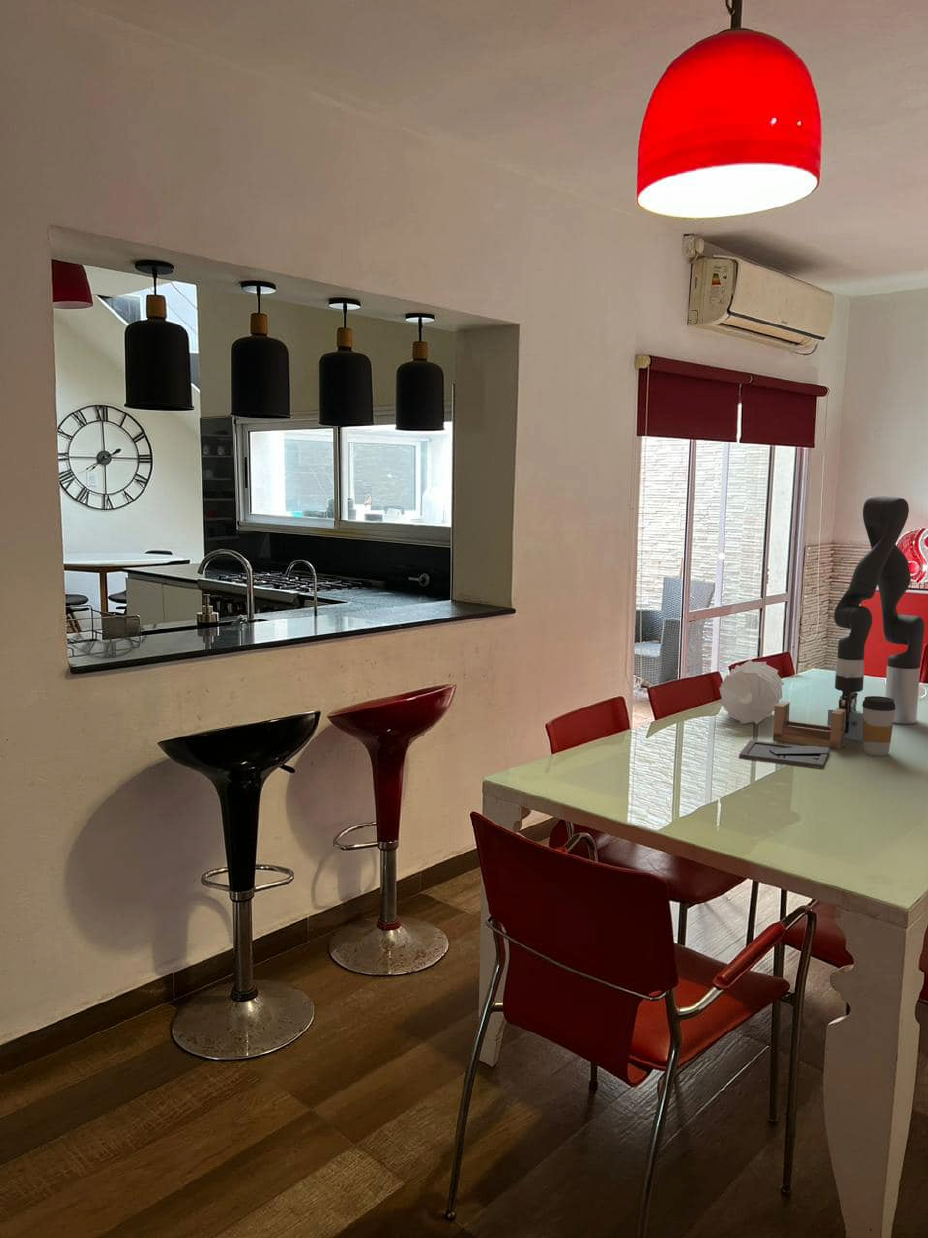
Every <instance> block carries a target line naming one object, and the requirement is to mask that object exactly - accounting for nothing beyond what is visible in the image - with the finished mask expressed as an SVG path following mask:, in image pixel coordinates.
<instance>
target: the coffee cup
mask: <svg viewBox="0 0 928 1238" xmlns="http://www.w3.org/2000/svg"><path fill="white" fill-rule="evenodd" d="M861 706H862V711H863V741H862V744H863V745H862V746H863V747H862V749H863V751H864V753H865V754H868V755H871V756H877V757H879V756H883V757H884V756H887V755H888V754H889V752H890V747H891V741H892V735H893V727H894V722H893V719H894V711H895V709H896V708H895V703H894V700H893V699H891V698H887V697H885V696H878V695H876V696H875V695H871V696H870V695H869V696H865V697H864V699H863V700H862V704H861Z"/></svg>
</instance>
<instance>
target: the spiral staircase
mask: <svg viewBox="0 0 928 1238" xmlns="http://www.w3.org/2000/svg"><path fill="white" fill-rule="evenodd" d="M778 672H779V670H778V669H776V668H774V667H772V666H770V665H768V664H767V661H753V660H752V659H749V660H748V661H746V662H744V663H743V664H741V665H738V664H736V666H734V669H732V668H731V670H730V672H729V674H726V675H725V677H724V679H723V681H722V682H721V684H720V687H719V692H720V697H721V701H720V702H719V704H720V705H721V706H722V708H724V710H726V711H727V717H729V718H732V719H735V720H738V721H740V724H748V723H749V724H750V723H753V722H754V723H755V725H758V724H759V723H760V722H761V721H763V720H764V719H765V718H771V715H772V714H773V713H774V706H775V705H776V704H778V703H779V702H780V700H781V699H783V686H785V682H784V680H782V679H781V677H780V676H779V674H778ZM781 701H782V700H781Z"/></svg>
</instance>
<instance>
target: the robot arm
mask: <svg viewBox="0 0 928 1238" xmlns="http://www.w3.org/2000/svg"><path fill="white" fill-rule="evenodd" d="M909 512H910V507H909V503H908V501H907V500H906V499H905V498H902V497H895V496H893V497H892V496H885V495H871V496H869V497H868V498H866V499H865V501H864V502H863V506H862V519H863V520H862V521H863V524H864V527H865V531H866V534H867V538H868V540H869V543H870V545H869V546H870V548H871V549H870V551H868V552H867V553H866V554H865V555H864V556H863V557H862V558H861V559H860V561H859V562H858V563H857V564H856V566H855V568H854V571H853V573H852V577H851V579H850V583H849V586H848V588H847V590H846V591H845V592H844V594H843V596H842V597H841V599H840V600H839V602H838V603H837V605H836V607H835V608H834V612H833V620H834V623H835V625H836V626H837V627H839V628H841V629H848V630H850V631H849V635H848V636H844V637H842V638H840V639H839V640H838V644H837V659H836V663H835V678H834V688H835V690H837V691H841V692H842V694H841V695H840V696H839V700H838V708H842V709H846V722H845V733H846V734H847V733H848V732H849V720H850V714H851V713H852V711H853V710H856V711H857V702H858V693H860V692H862V691H863V690H864V681H865V680H864V679H865V646H866V643H867V639H868V637H869V634H870V632H871V629H872V625H873V614H872V612H871V610H870V608H868V607H866V606H862V605H861V604H862V602H863V601H867V600H871V599H873V598H874V596H875V593H876V590H877V587H878V592H879V599H880V604H881V617H882V630H883V631H882V632H883V636H884V639H885V640H886V642H887V643H890V644H895V645H904V646H907V648H906V650H905V651H903V652H901V653H896V654H892V655H891V654H890V655H889V656H888V657H887V660H886V661H887V662H886V675H885V676H886V677H885V678H886V680H885V691H884V692H885V694H884V695H885V696H884V697H887V698H891V699H893V700H894V703H895V708H896V709H895V711H894V719H893V724H902V725H905V724H908V725H909V724H916V723H917V718H918V717H917V716H918V705H919V703H918V701H919V687H920V672H921V663H922V661H921V660H922V654H923V653H922V652H923V643H924V637H925V630H926V629H925V627H926V626H925V625H926V624H925V620H924V618H923V617H922V616H920V615H912V614H909V615H908V614H900V613H898V612H897V605H898V604H899V602H900V600H901V598H902V597H903V596H904V595H905V593H906V592H907V591H908V589H909V587H910V584H911V580H912V577H911V570H910V563H909V561H908V558H907V557H906V555H905V554H904V552H903V551H902V550H901V549H900V548H899V547H898V545H897V544H896V543H897V542H898V540H899V538H900V536H901V533H902V531H903V530H904V527H905V525H906V523H907V520H908V519H909V518H908V517H909Z"/></svg>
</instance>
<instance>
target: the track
mask: <svg viewBox="0 0 928 1238" xmlns="http://www.w3.org/2000/svg"><path fill="white" fill-rule="evenodd" d="M790 703H791V702H790V701H782V700H781V701H780V700H779V703H778V704H776V705H775V706H774V711H773V731H772V740H773V739H774V740H773V741H779V740H781V742H786V741H789V742H788V743H793V742H795V743H794V744H800V743H801V744H800V745H807V744H808V745H807V746H814V745H815V746H818V747H820V746H821V747H826V748H830V749H834V748H835V750H840V749H841V748H842V746H843V745H844V744H845V722H846V709H842V708H839V707H835V708H836V709H835V710H834V711H833V712H832V713H831V726H827V725H825V724H824V725H822V724H816V723H808V722H807V723H806V722H799V721H792V720H790V705H791V704H790Z"/></svg>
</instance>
